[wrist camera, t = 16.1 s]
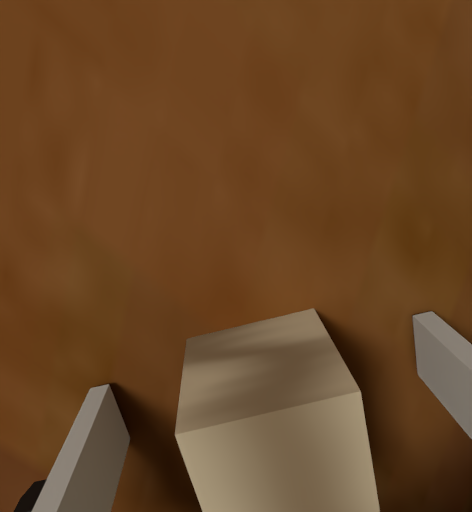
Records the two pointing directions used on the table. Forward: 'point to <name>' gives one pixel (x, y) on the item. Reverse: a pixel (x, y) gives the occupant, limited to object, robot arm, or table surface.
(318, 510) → the beech cube
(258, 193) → the table surface
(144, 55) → the table surface
